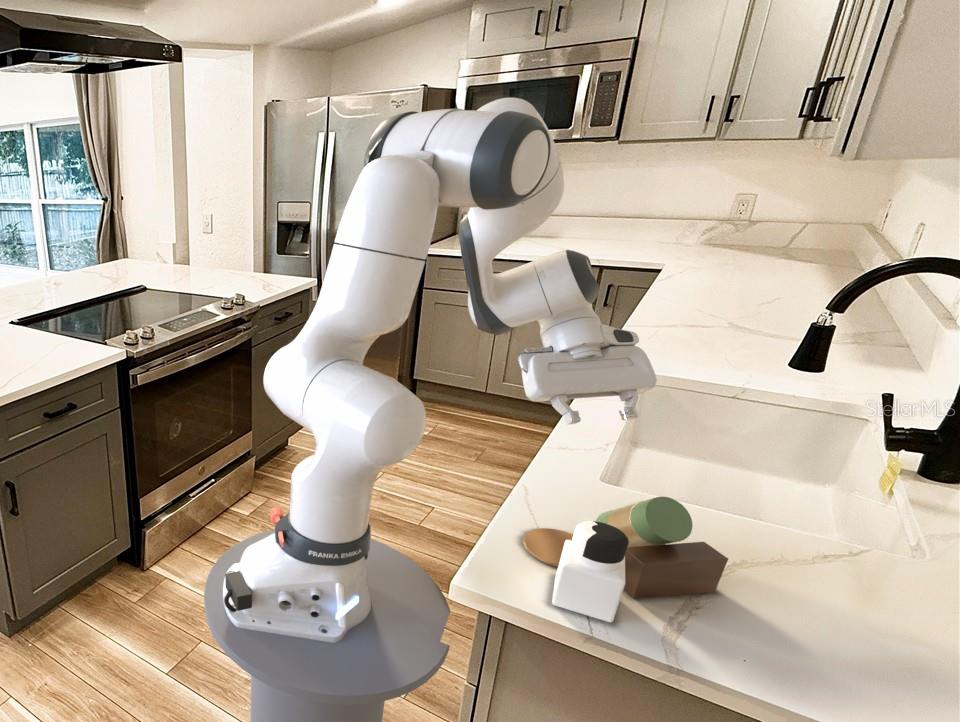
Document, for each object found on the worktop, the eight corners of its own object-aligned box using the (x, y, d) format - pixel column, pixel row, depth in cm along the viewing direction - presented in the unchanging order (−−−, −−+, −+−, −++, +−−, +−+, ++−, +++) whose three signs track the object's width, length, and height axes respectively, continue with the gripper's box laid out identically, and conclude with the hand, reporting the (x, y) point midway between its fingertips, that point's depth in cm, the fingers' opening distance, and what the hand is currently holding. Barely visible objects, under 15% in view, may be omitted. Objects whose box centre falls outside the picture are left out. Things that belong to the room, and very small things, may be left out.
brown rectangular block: (569, 540, 100) (577, 509, 97) (641, 535, 100) (651, 504, 98) (633, 598, 87) (644, 565, 85) (715, 592, 87) (728, 558, 85)
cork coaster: (541, 569, 94) (542, 566, 93) (512, 531, 103) (512, 528, 102) (610, 570, 93) (611, 567, 92) (574, 531, 102) (575, 528, 102)
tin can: (582, 536, 100) (600, 471, 95) (621, 533, 101) (641, 468, 96) (639, 586, 89) (663, 516, 84) (683, 583, 89) (710, 512, 84)
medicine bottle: (612, 593, 88) (634, 524, 83) (612, 624, 83) (636, 552, 78) (555, 576, 92) (573, 510, 87) (551, 605, 87) (570, 536, 82)
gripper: (525, 340, 101) (550, 419, 96) (646, 332, 101) (678, 410, 96) (505, 357, 107) (528, 431, 102) (620, 349, 107) (648, 423, 102)
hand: (602, 421), depth 99 cm, fingers open, 8 cm apart
